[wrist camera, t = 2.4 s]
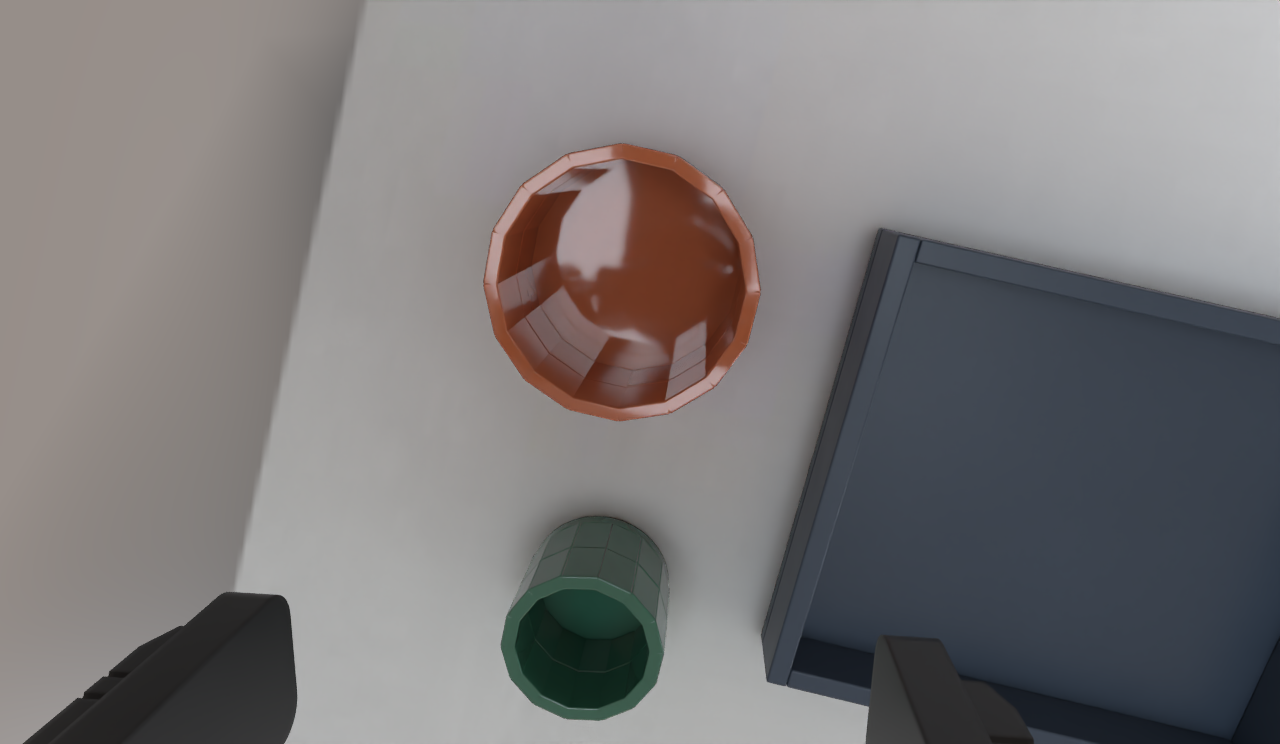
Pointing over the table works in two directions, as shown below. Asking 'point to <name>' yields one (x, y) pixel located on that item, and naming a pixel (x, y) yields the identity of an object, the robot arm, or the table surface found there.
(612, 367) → the big bowl
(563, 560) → the small bowl
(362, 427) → the table surface
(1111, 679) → the tray
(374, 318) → the table surface
